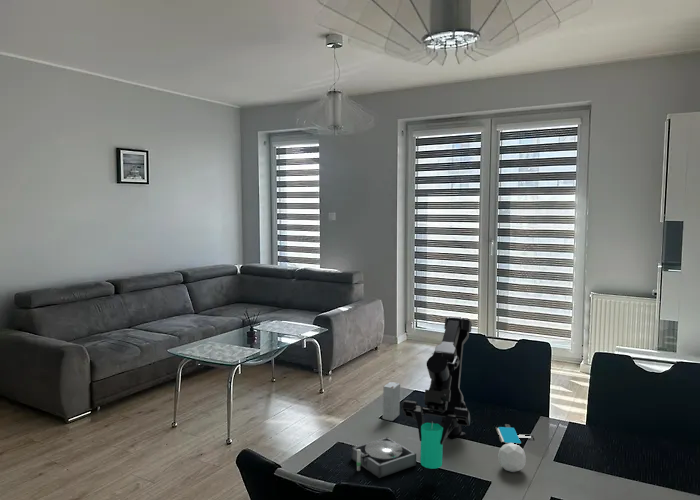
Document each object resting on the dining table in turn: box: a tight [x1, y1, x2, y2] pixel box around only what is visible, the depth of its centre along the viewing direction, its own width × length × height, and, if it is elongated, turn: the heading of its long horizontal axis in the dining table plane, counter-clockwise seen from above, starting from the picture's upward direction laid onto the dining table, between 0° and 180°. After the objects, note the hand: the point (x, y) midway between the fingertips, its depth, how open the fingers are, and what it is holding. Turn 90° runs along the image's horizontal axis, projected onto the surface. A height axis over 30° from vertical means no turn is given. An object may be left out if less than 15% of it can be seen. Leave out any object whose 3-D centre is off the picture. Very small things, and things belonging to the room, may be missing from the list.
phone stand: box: [495, 423, 531, 445], centre depth 177 cm, size 20×12×2 cm, turn 174°
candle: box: [419, 422, 444, 470], centre depth 147 cm, size 6×6×12 cm
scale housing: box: [351, 436, 417, 479], centre depth 157 cm, size 16×14×6 cm
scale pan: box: [361, 440, 402, 461], centre depth 157 cm, size 14×11×1 cm
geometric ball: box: [497, 443, 527, 473], centre depth 154 cm, size 8×8×8 cm
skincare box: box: [382, 381, 401, 422], centre depth 191 cm, size 6×4×12 cm
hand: (430, 442), depth 146 cm, fingers closed on candle, 5 cm apart
